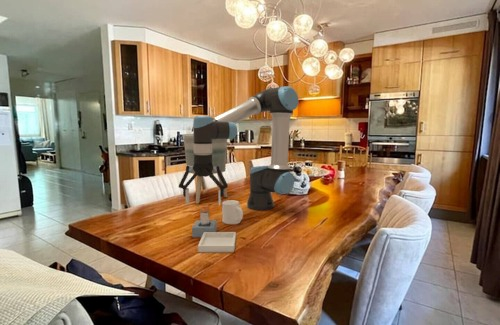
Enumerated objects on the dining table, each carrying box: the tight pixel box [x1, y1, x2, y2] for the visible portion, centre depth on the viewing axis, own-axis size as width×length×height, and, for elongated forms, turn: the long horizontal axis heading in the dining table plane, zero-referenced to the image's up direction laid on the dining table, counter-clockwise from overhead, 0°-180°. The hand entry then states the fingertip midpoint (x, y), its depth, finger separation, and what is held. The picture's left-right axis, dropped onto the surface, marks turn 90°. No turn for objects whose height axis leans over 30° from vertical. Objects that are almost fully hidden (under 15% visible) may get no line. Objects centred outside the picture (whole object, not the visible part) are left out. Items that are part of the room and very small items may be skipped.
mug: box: [221, 199, 244, 225], centre depth 131 cm, size 12×9×8 cm
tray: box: [197, 231, 237, 253], centre depth 106 cm, size 13×13×2 cm
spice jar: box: [199, 206, 210, 226], centre depth 117 cm, size 4×4×11 cm
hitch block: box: [191, 219, 218, 238], centre depth 117 cm, size 9×9×4 cm
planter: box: [183, 133, 229, 204], centre depth 170 cm, size 26×26×40 cm
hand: (203, 204), depth 116 cm, fingers open, 13 cm apart
